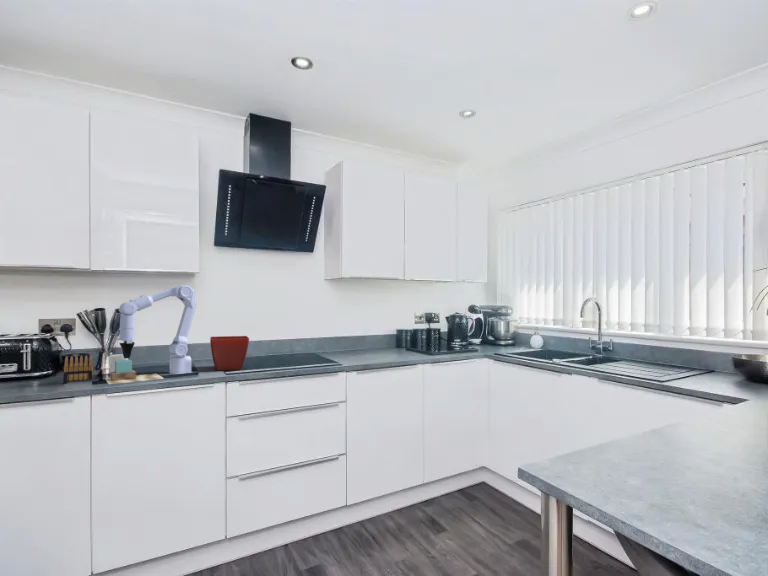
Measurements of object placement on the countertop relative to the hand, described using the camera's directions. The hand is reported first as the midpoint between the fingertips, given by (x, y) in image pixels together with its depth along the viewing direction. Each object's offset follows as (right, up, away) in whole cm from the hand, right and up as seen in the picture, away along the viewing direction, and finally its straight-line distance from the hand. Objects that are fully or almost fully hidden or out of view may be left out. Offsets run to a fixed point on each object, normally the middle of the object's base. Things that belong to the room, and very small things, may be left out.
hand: (126, 358), depth 187 cm
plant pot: (+34, -12, +33) cm, 49 cm away
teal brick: (-1, -6, -1) cm, 6 cm away
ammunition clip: (-19, -10, -5) cm, 22 cm away
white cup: (-11, -11, +12) cm, 19 cm away
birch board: (+4, -10, -1) cm, 11 cm away
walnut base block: (-1, -9, -2) cm, 9 cm away
